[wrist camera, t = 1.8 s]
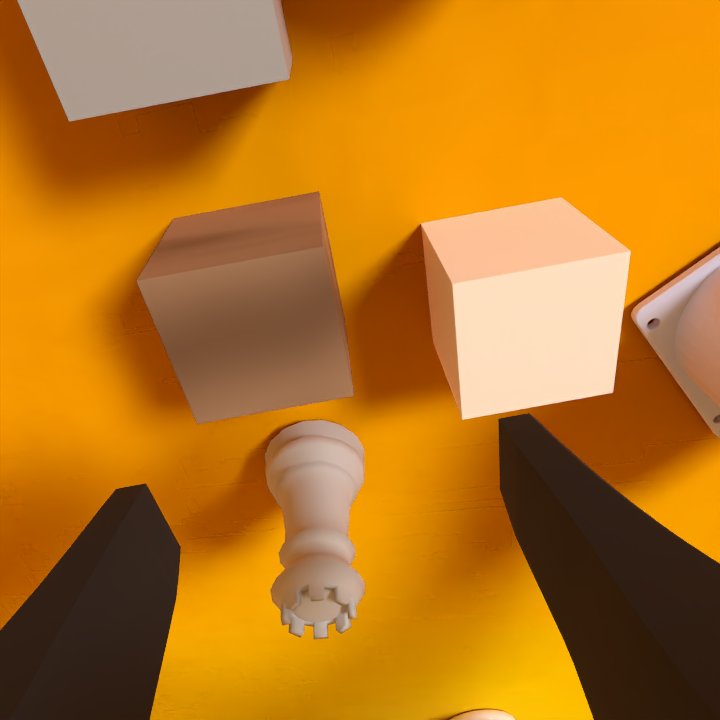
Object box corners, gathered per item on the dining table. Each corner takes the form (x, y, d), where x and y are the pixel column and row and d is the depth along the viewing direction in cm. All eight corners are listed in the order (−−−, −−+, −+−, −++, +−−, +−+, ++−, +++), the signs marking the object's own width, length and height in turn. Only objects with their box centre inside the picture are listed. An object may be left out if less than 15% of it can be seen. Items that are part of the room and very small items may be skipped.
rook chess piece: (244, 446, 24) (221, 615, 18) (325, 396, 23) (333, 556, 16) (305, 500, 26) (306, 668, 20) (382, 457, 25) (411, 620, 19)
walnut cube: (344, 318, 21) (354, 395, 17) (218, 341, 21) (197, 423, 17) (318, 190, 18) (322, 246, 14) (174, 217, 19) (136, 280, 14)
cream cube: (554, 318, 22) (612, 392, 18) (432, 340, 22) (462, 419, 18) (560, 196, 19) (630, 251, 15) (420, 222, 19) (452, 283, 15)
